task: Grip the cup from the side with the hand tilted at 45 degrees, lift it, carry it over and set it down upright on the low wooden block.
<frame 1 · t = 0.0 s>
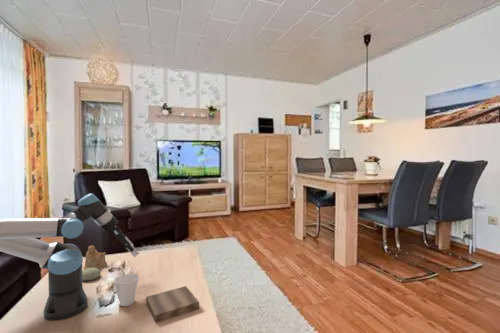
hand: (134, 250, 138), 15 cm above the table, tool tilted 35°, fingers open, 13 cm apart
wooden block: (172, 305, 115), on the table
statue: (95, 267, 154), on the table
sea urchin shell: (90, 278, 140), on the table
cup: (126, 303, 117), on the table
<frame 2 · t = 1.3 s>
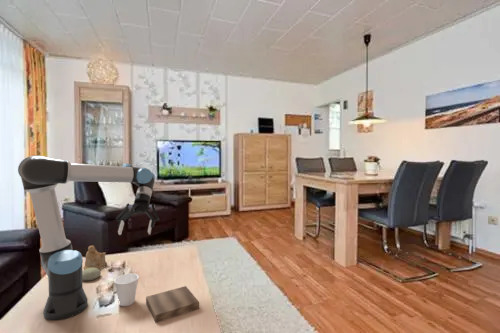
hand: (134, 233, 127), 28 cm above the table, tool tilted 45°, fingers open, 13 cm apart
nothing on the table moved.
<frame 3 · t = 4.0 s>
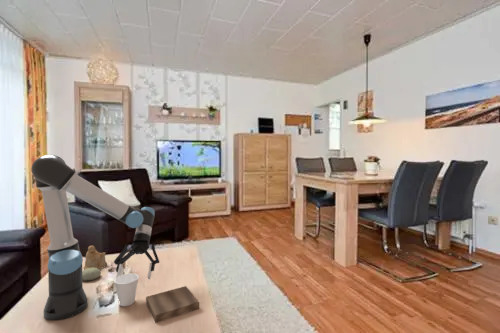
hand: (133, 278, 121), 9 cm above the table, tool tilted 45°, fingers open, 13 cm apart
nothing on the table moved.
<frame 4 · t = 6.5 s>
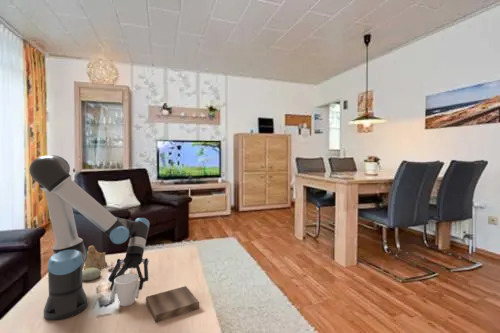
hand: (124, 298, 114), 4 cm above the table, tool tilted 45°, fingers closed on cup, 9 cm apart
cup: (126, 303, 117), on the table, touching gripper
everything else where it was.
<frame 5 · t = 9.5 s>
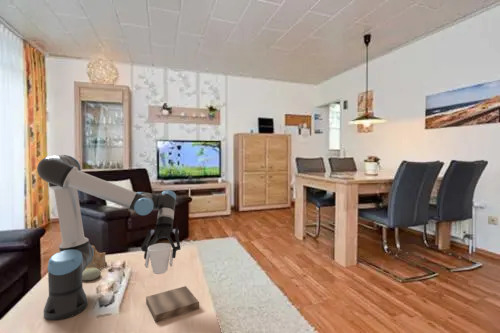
hand: (158, 265, 113), 18 cm above the table, tool tilted 45°, fingers closed on cup, 9 cm apart
cup: (160, 271, 117), point 14 cm above the table, touching gripper
everything else where it was.
when the fingers open (8 cm above the table, at t = 12.5 s): cup drops 1 cm, resting on wooden block.
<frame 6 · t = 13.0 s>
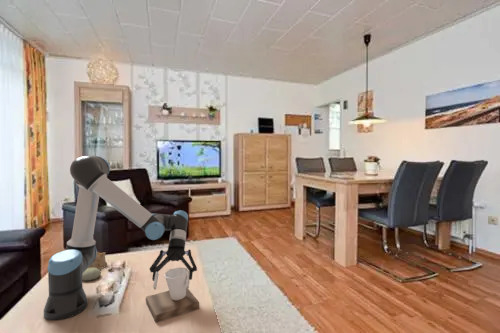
hand: (171, 287, 112), 9 cm above the table, tool tilted 45°, fingers open, 13 cm apart
cup: (178, 297, 116), point 3 cm above the table, touching gripper, wooden block
everything else where it was.
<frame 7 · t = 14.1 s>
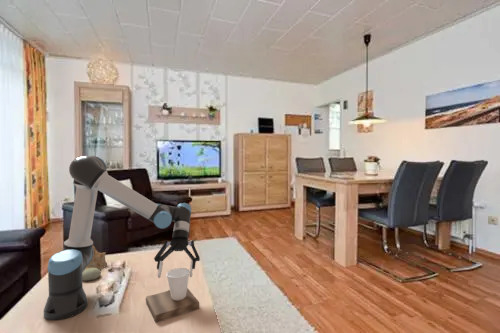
hand: (174, 276, 117), 12 cm above the table, tool tilted 45°, fingers open, 13 cm apart
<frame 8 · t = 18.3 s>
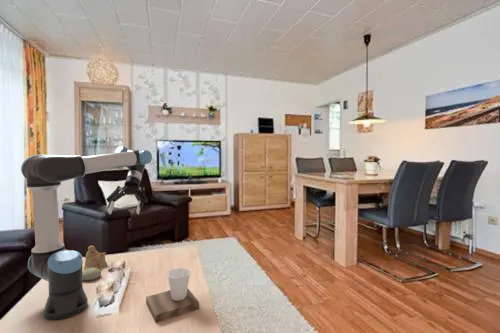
hand: (123, 213, 134), 36 cm above the table, tool tilted 45°, fingers open, 13 cm apart
cup: (178, 297, 116), point 3 cm above the table, touching wooden block
everything else where it was.
at the end: cup inside the target area on the wooden block (2.9 cm from its centre), point 2.8 cm above the wooden block's base; cup tilted 0°; the gripper is holding nothing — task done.
